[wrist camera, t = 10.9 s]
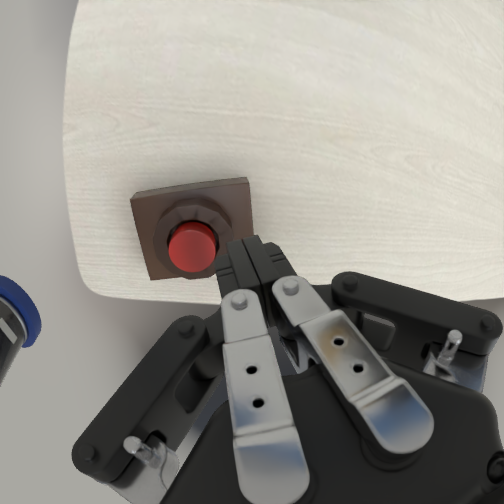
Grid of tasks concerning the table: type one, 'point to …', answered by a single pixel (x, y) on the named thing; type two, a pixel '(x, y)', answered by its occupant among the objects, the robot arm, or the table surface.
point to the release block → (190, 220)
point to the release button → (192, 247)
